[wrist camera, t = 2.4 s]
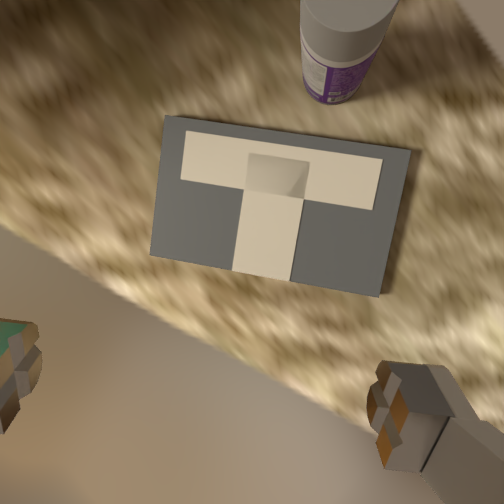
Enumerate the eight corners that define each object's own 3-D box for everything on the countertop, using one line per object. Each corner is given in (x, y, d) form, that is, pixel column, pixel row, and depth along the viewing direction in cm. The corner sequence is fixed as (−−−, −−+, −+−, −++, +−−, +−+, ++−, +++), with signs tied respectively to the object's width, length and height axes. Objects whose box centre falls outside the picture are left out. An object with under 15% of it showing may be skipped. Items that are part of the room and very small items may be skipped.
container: (369, 48, 31) (424, -78, 16) (354, 110, 32) (392, 44, 17) (310, 38, 31) (311, -94, 17) (296, 99, 32) (286, 24, 17)
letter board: (153, 253, 36) (149, 255, 35) (169, 116, 34) (164, 114, 33) (376, 294, 34) (378, 298, 33) (408, 151, 32) (411, 150, 30)
